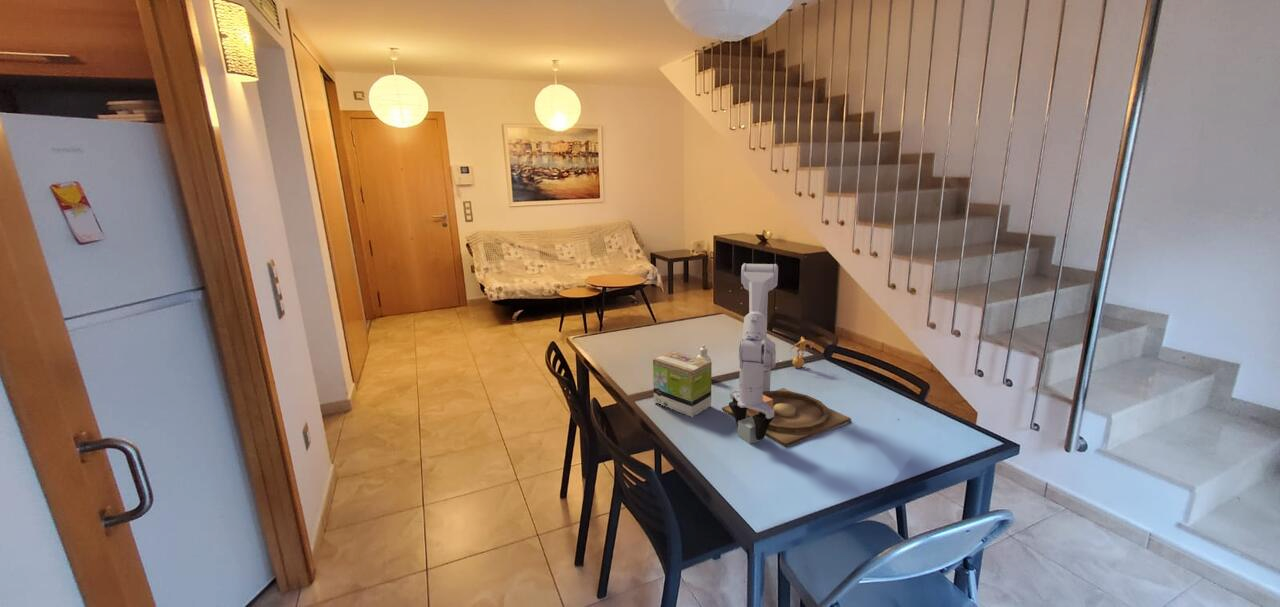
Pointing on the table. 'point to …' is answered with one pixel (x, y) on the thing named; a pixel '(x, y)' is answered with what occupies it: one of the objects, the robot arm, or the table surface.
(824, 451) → the table surface
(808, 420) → the groove tray
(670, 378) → the tea box
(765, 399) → the orange cube
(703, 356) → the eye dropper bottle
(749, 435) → the grey cube
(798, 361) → the figurine
